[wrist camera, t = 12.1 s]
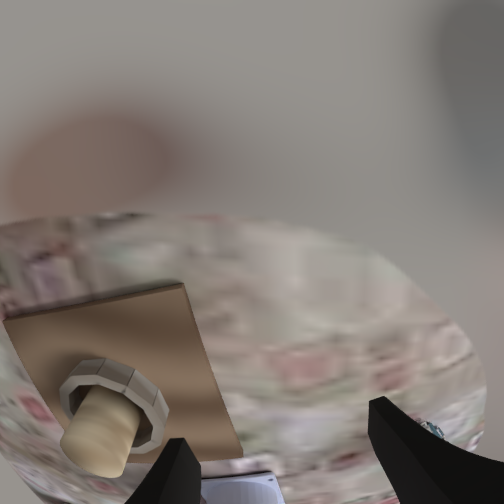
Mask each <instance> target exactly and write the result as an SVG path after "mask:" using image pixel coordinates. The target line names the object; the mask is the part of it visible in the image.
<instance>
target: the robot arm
mask: <svg viewBox="0 0 504 504" xmlns="http://www.w3.org/2000/svg"><path fill="white" fill-rule="evenodd" d="M368 435H369V437H370V440H371V443H372V446H373V449H374V451H375V454H376V456H377V458H378V460H379V461H380V463H381V465H382V467H383V469H384V471H385V473H386V475H387V477H388V479H389V481H390V483H391V485H392V486H393V488H394V490H395V492H396V495H397V497H398V499H399V502H400V504H504V462H500V461H496V460H492V459H488V458H485V457H482V456H479V455H476V454H473V453H470V452H468V451H466V450H463V449H461V448H459V447H457V446H455V445H452V444H450V443H449V442H447V441H445V440H443V439H441V438H440V437H438V436H436V435H435V434H433V433H431V432H430V431H428V430H427V429H425V428H424V427H423V426H421V425H420V424H418V423H417V422H416V421H414V420H413V419H412V418H410V417H409V416H408V415H406V414H405V413H404V412H403V411H401V410H400V409H399V408H398V407H397V406H395V405H394V404H393V403H392V402H391V401H390V400H389V399H387V398H386V397H385V396H382V397H379V398H376V399H373V400H370V401H369V419H368ZM200 495H202V496H203V498H204V499H205V500H206V504H285V502H284V499H283V496H282V493H281V490H280V488H279V485H278V482H277V479H276V476H275V474H274V473H272V472H267V473H261V474H254V475H247V476H238V477H229V478H218V479H203V480H201V465H200V463H199V462H198V460H197V458H196V457H195V455H194V453H193V452H192V450H191V448H190V447H189V445H188V443H187V441H186V440H185V438H184V437H183V438H170V439H169V440H168V442H167V443H166V445H165V447H164V448H163V450H162V452H161V453H160V455H159V457H158V458H157V460H156V462H155V463H154V465H153V466H152V468H151V469H150V471H149V472H148V474H147V475H146V477H145V478H144V480H143V481H142V482H141V484H140V485H139V486H138V488H137V489H136V490H135V492H134V493H133V494H132V495H131V497H130V498H129V499H128V500H127V501H126V502H125V504H200Z"/></svg>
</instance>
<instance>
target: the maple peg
mask: <svg viewBox="0 0 504 504" xmlns="http://www.w3.org/2000/svg"><path fill="white" fill-rule="evenodd" d="M143 411H144V410H143V409H142V408H141V407H140V406H138V405H137V404H136V403H134V402H133V401H132V400H130V399H129V398H128V397H127V396H125V395H124V394H123V393H120V392H117V391H115V390H112V389H109V388H107V387H104V386H101V385H99V384H95V385H92V387H91V388H90V390H89V392H88V393H87V395H86V397H85V398H84V400H83V402H82V403H81V405H80V407H79V408H78V410H77V412H76V414H75V415H74V417H73V419H72V420H71V422H70V424H69V426H68V427H67V429H66V431H65V433H64V434H63V436H62V438H61V440H60V446H61V448H62V450H63V452H64V453H65V455H66V456H67V457H68V458H69V459H70V460H71V461H72V462H74V463H75V464H76V465H78V466H79V467H81V468H82V469H84V470H86V471H88V472H90V473H92V474H95V475H98V476H101V477H106V478H116V477H119V476H121V475H122V473H123V470H124V467H125V464H126V461H127V458H128V455H129V452H130V449H131V446H132V443H133V440H134V438H135V435H136V432H137V429H138V426H139V423H140V420H141V418H142V415H143Z"/></svg>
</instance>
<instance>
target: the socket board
mask: <svg viewBox="0 0 504 504" xmlns="http://www.w3.org/2000/svg"><path fill="white" fill-rule="evenodd" d="M2 322H3V324H4V326H5V329H6V331H7V333H8V335H9V337H10V339H11V342H12V344H13V346H14V348H15V350H16V352H17V354H18V356H19V358H20V360H21V361H22V363H23V365H24V367H25V369H26V371H27V373H28V374H29V376H30V378H31V380H32V381H33V383H34V385H35V386H36V388H37V390H38V391H39V393H40V395H41V396H42V398H43V399H44V401H45V403H46V404H47V406H48V407H49V409H50V410H51V412H52V413H53V415H54V416H55V418H56V419H57V421H58V422H59V423H60V425H61V426H62V428H63V429H64V430H65V431H66V429H67V427H68V426H69V424H70V422H71V420H72V419H73V417H74V415H75V414H76V412H77V410H78V408H79V407H80V405H81V403H82V402H83V400H84V398H85V397H86V395H87V393H88V392H89V390H90V388H91V387H92V385H95V384H99V385H101V386H104V387H107V388H109V389H112V390H115V391H117V392H120V393H123V394H124V395H125V396H127V397H128V398H129V399H130V400H132V401H133V402H134V403H136V404H137V405H138V406H140V407H141V408H142V409H143V410H144V411H143V415H142V418H141V420H140V423H139V426H138V429H137V432H136V435H135V438H134V440H133V443H132V446H131V449H130V452H129V455H128V458H127V461H126V463H155V462H156V460H157V458H158V457H159V455H160V453H161V452H162V450H163V448H164V447H165V445H166V443H167V442H168V440H169V439H170V438H183V437H184V438H185V440H186V441H187V443H188V445H189V447H190V448H191V450H192V452H193V453H194V455H195V457H196V458H197V460H198V462H202V461H214V460H224V459H233V458H241V457H243V449H242V447H241V444H240V442H239V440H238V437H237V435H236V432H235V430H234V427H233V425H232V422H231V420H230V417H229V415H228V412H227V409H226V407H225V404H224V402H223V399H222V396H221V394H220V391H219V388H218V386H217V383H216V380H215V377H214V375H213V372H212V369H211V366H210V363H209V360H208V358H207V355H206V352H205V349H204V346H203V343H202V340H201V337H200V334H199V331H198V328H197V325H196V322H195V318H194V315H193V312H192V309H191V306H190V303H189V299H188V296H187V293H186V289H185V286H184V283H182V284H177V285H172V286H167V287H163V288H158V289H153V290H148V291H143V292H138V293H133V294H128V295H123V296H118V297H113V298H108V299H103V300H97V301H92V302H87V303H82V304H77V305H71V306H66V307H61V308H56V309H50V310H45V311H39V312H34V313H29V314H23V315H18V316H12V317H7V318H6V319H5V320H3V321H2Z"/></svg>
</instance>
